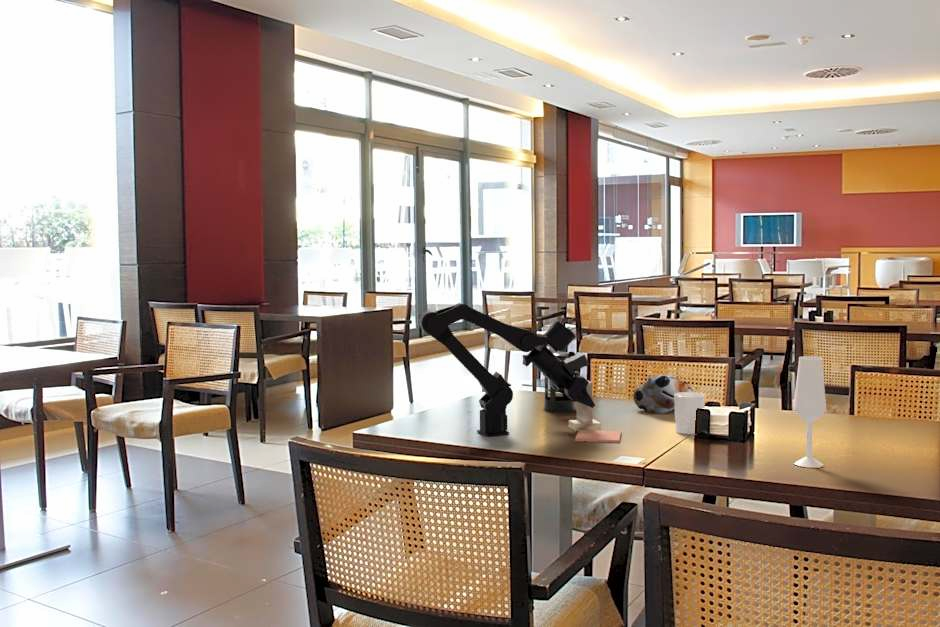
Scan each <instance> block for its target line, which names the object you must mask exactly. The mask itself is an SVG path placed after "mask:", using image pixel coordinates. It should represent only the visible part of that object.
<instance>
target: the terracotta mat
mask: <svg viewBox="0 0 940 627" xmlns="http://www.w3.org/2000/svg"><path fill="white" fill-rule="evenodd" d="M621 436H622V430H601V431H599V430H579V431H578V432H576V436H575V438H574V441H575V442H584V441H586V443H587V442H589V443H590V442H591V443H614V444H615V443H616V444H617V443H618V444H619V443H620V440H621Z"/></svg>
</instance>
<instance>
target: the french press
mask: <svg viewBox="0 0 940 627" xmlns="http://www.w3.org/2000/svg"><path fill="white" fill-rule="evenodd" d="M551 352H552V353H553V354H554V355H555V356H556V357H557V358H558V359H560V360H561V361H562V360H563V361H564V360H565V359H566V353H568V352H569V351H563V352H559V351H557V352H554V351H551ZM575 372H576V374H575V375H576V376H581V372H580V371H575ZM557 390H558V388H557ZM557 390H554V389H553V388H552V387H551V386H550V385H549V379H548V378H547V377H545V376H544V407H543V410H544V411H545V412H548V413H549V412H550V413H569V412H570V411H571V412H573V411H575V410H576V407H575V403H577V401H574V400H572V399H570V398H569V397H568V396H566V395H564V394H562V395H557V394H559V392H558V391H557ZM556 393H557V394H556ZM549 394H550V396H549Z"/></svg>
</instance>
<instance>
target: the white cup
mask: <svg viewBox="0 0 940 627" xmlns="http://www.w3.org/2000/svg"><path fill="white" fill-rule="evenodd" d="M705 403H706V394H705V393H702V392H694V391H692V392H679V393H675V394H674V407H675V409H674V420H675V432H676V433H677V434H681V435H688V436H689V435H695V434H694V433H695V420H696V410H697V408H704V409H705Z"/></svg>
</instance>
